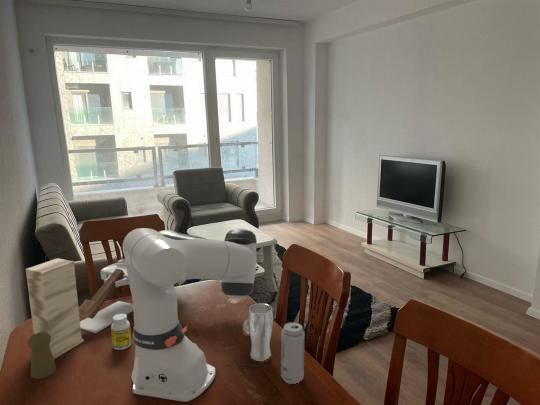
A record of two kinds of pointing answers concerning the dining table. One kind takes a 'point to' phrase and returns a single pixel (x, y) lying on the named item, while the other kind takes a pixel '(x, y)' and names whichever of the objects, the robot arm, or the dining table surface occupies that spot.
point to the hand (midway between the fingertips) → (110, 283)
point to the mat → (105, 316)
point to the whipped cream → (246, 327)
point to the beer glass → (260, 330)
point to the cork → (41, 355)
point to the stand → (55, 303)
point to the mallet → (100, 295)
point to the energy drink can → (292, 353)
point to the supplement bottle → (121, 332)
